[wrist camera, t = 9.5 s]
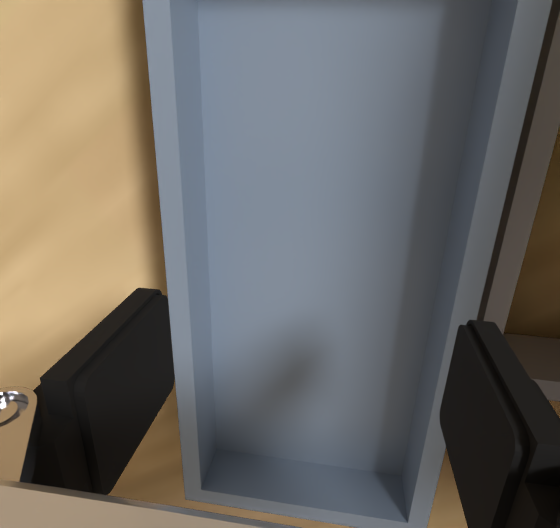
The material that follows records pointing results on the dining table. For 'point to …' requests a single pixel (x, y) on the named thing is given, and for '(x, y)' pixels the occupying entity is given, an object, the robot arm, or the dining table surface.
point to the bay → (528, 213)
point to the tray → (329, 235)
